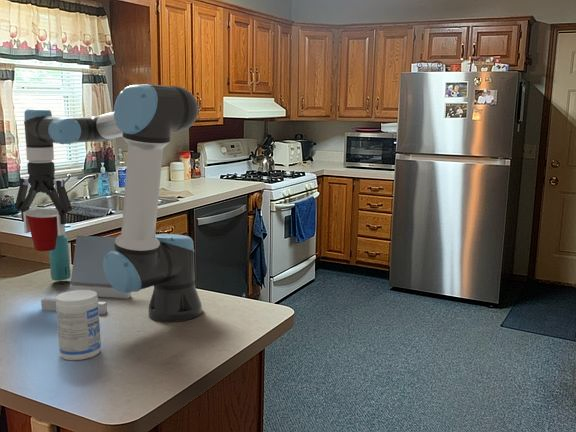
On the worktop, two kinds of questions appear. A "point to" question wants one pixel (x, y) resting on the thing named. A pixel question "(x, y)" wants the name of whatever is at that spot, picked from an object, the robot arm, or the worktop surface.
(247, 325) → the worktop surface
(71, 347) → the supplement tub
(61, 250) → the beverage bottle
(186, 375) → the worktop surface
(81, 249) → the door
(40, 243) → the plastic cup
